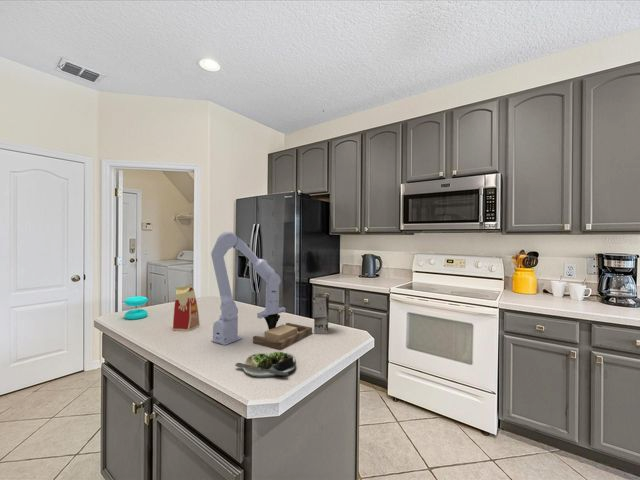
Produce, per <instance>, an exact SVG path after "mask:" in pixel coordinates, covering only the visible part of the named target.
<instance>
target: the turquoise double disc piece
mask: <svg viewBox="0 0 640 480" xmlns="http://www.w3.org/2000/svg"><path fill="white" fill-rule="evenodd" d="M148 301H149V300H148V297H146V296H141V295H138V296H131V297H130V296H129V297H127V298H125V300H124V304H125V305H126V306H129V307H139V306H143V305H145V304H147V302H148ZM147 316H148V311H147V310H146V309H143V308H137V309H136V308H135V309H131V310H128V311H126V312H125V314H124V318H125V319H126V320H141V319H144V318H146V317H147Z"/></svg>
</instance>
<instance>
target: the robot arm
mask: <svg viewBox="0 0 640 480" xmlns="http://www.w3.org/2000/svg"><path fill="white" fill-rule="evenodd" d="M231 248H233V249H234V250H237V251H239V252H241V253H242V254H243V255H244V256H245V257H246V258H247V259H248V260H249V261H250V263H252V269H253V271H255V272H256V274H258V275H259V277H261V279H263V280H264V283H266V284H265V304H264V305H265V308H264V310H263V311H260V312H258V313H257V316H256V318H258V319H264V321H265V322H266V325H267V328H268V330H270V329H273V328H275V327H277V324H278V321H279V320H280V318H281V315H280V314H281V313H286V309H287V308H286V307H283V306H282V307H280V285H281V282H282V280H281V277H280V275H279V274H277V273H276V270H275V268H272V267H271V266H270V265H269V264H268V263H269V262H268V260H266V259H264V258H259V257H258V256H257V254H255V253H254V251H252V249H250V247H249V246H248V244H246V243H245V241H243V240H242V239H241V238H240V237H238V236H237V235H236V234H235V233H234V232H231V231H224V232H222V233H221V234H220V235H219V236H218V237H217V239H216V240H215V244H214V245H213V248H212V250H211V252H210V255H211V260H212V264H213V270H214V272H215V273H214V274H215V279H216V284H217V288H218V291H219V296H220V301H221V303H220V311H221V313H220V315H219V319H218V320H217V321H215V322H213V326H212V339H211V342H213V343H216V344H221V345H223V346H226V345H229V344H230V343H231V344H232V343H233V342H237V341H239V340H241V339H243V336H239V334H238V330H239V329H238V328H239V325H238V324H239V316H238V313H239V308H238V306H237V304H236V302H235V301H234V298H233V294H232V290H231V285H230V280H229V276H228V271H227V266H226V262H225V255H226V254H227V253H228V251H229V250H230V249H231Z"/></svg>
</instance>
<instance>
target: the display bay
mask: <svg viewBox="0 0 640 480" xmlns="http://www.w3.org/2000/svg"><path fill="white" fill-rule="evenodd" d="M285 325H288V326H292V327H297V333H296V334H294V335H292V336H290V337H288V338H285V339H283V340H281V341H275V340H271V339H267V338H264V337H263V336H259V335H254V336H252V343H253V344H257V345H260V346H263V347H267V348H271V349H273V350H274V349H275V350H279V351H281V350H283V349H285V348H287V347H288V346H290V345H293V344H294V343H296V342H298V341H300V340H302V339H304V338H306V337H307V336H309V335H312V333H313V327H310V326H305V325H300V324H297V323H296V324H295V323H291V322H285Z"/></svg>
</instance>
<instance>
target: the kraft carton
mask: <svg viewBox="0 0 640 480" xmlns="http://www.w3.org/2000/svg"><path fill="white" fill-rule="evenodd" d="M296 333H298V331H297V327H292V326H288V325H286V324H280V325H278V326H276V327H275V328H273V329H270V330H269V329H268V330H265V331H264V334H263V335H264V337H263V338H267V339H271V340H275V341H281V340H283V339H285V338H288V337H290V336H292V335H294V334H296Z"/></svg>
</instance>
